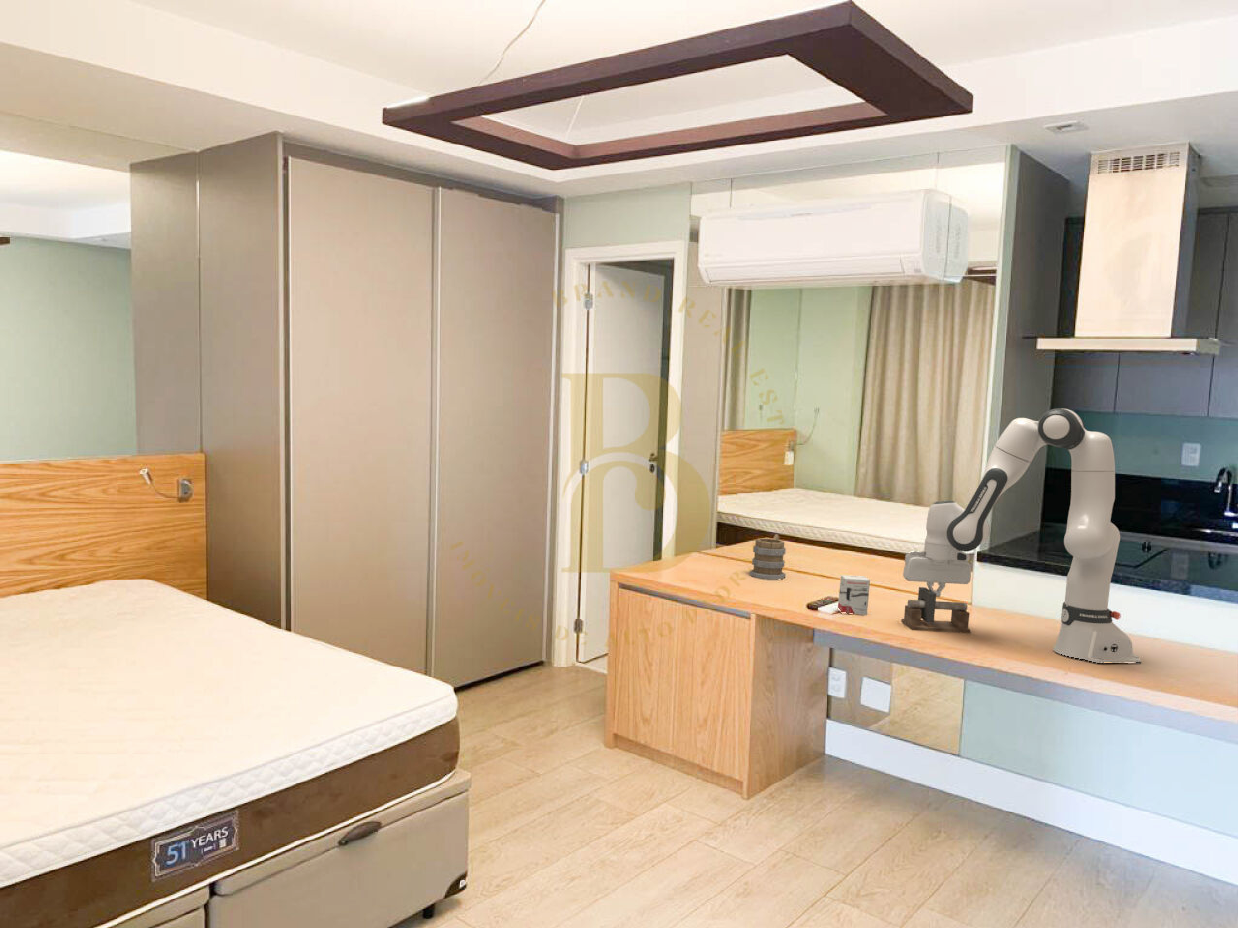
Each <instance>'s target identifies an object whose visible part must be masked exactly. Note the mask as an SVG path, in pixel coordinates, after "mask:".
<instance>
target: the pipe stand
mask: <svg viewBox="0 0 1238 928" xmlns="http://www.w3.org/2000/svg"><path fill="white" fill-rule="evenodd" d="M925 602H926V601H922V600H918V599H908V600H907V605H905V606H904V616H903V618H901V621H900V622H901V623H902V624H904V625H905V626H907V627H908V628H909V629H911V630H912V631H920V632H921V631H922V632H923V631H925V632H943V633H944V632H945V633H960V632H962V633H965V634H971V633H972V630H971V629H970V628H969V622H970V612H969V611H967V610H968V603H967V602H959V601H958V602H957V601H940V600H939V601H938V600H936V603H935V610H946V611H948V610H949V611H951V617H950V620H935V619H934V623H929V622H926V621H924V620H923V619H921V613H922V610H920V609H919V608H925Z"/></svg>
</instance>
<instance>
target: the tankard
mask: <svg viewBox="0 0 1238 928" xmlns="http://www.w3.org/2000/svg"><path fill="white" fill-rule="evenodd" d="M752 547H753V548H752V549H753V550H752V552H753V553H754V557H753V558H752V559H751V560H752V562H751V565H753V568H752V570H749V573H748V574H749V576H751V577H752V578H755V579H758V580H759V579H760V580H765V579H766V581H779V580H778V579H782V578H784V577H785V578H786V573H785V572H783V568H784V567H785V564H786V563H785V562H786V561H785V560H784V556H785V555H786V547H785V541H783V540H780V536H779V534H777V533H775V534H774V536H773V538H765V537H764V538H763V537H762V538H756V539H755V543H754V545H753V546H752ZM785 578H784V579H785ZM782 580H783V579H782Z"/></svg>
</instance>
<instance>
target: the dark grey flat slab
mask: <svg viewBox="0 0 1238 928" xmlns="http://www.w3.org/2000/svg"><path fill="white" fill-rule="evenodd" d="M917 595H918V596H917V600H922V601H926V602H925V608H919V609H920V610H922V613H921V620H924V621H926V622H929V623H934V620H935V613H936V609H935V603H936V601H937V597H936V593H934V592H932V591H931V590H929V588H928V587H924V586H918V594H917Z"/></svg>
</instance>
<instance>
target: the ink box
mask: <svg viewBox="0 0 1238 928" xmlns="http://www.w3.org/2000/svg"><path fill="white" fill-rule="evenodd" d="M870 585H871V579H869V578H867V577H866V576H865V575H864V576H863V575H862V576H861V575H846V574H845V575H840V582H839V590H838V591H839V593H838V604H837V609H838V608H839V609H840V610H841V612H846V613H853V614H858V615H857V616H867V615H868V608H869V598H870V597H869V596H870ZM853 614H852V615H853Z"/></svg>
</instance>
